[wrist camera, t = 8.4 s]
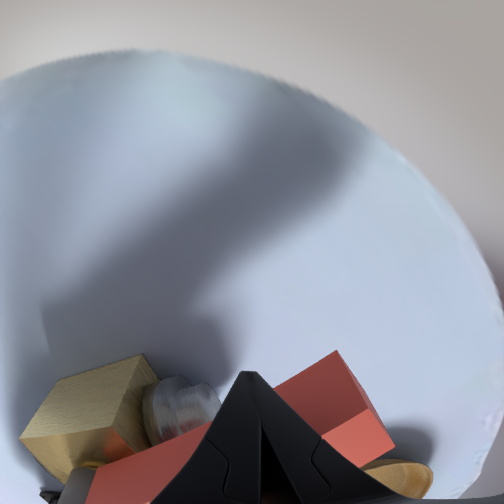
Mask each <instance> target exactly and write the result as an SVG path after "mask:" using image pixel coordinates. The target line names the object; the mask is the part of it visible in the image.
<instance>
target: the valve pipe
mask: <svg viewBox="0 0 504 504" xmlns="http://www.w3.org/2000/svg"><path fill="white" fill-rule="evenodd" d="M221 405H222V404H221V402H220V400H219V398H218V396H217V395H216V393H215V391H214V390H213V389H212V388H211V387H210V386H209V385H208V384H207V383H201V384H198V385H195V386H192V385H191V384H190V383H189V382H188V381H187V380H186V379H185V378H183V377H181V376H173V377H170V378H166V379H163V380H160V381H159V379H158V378H157V376H156V375H155V373H154V372H153V370H152V369H151V367H150V366H149V364H148V363H147V361H146V360H145V358H144V356H143V355H142V354H140V355H137V356H134V357H131V358H128V359H124V360H121V361H118V362H115V363H112V364H109V365H106V366H103V367H100V368H96V369H93V370H90V371H87V372H83V373H80V374H77V375H74V376H70V377H67V378H63V379H60V380H58V381H57V383H56V384H55V386H54V387H53V388H52V390H51V391H50V393H49V394H48V396H47V397H46V398H45V400H44V401H43V403H42V404H41V406H40V407H39V409H38V410H37V412H36V413H35V415H34V416H33V418H32V419H31V421H30V422H29V424H28V425H27V427H26V428H25V430H24V431H23V433H22V435H21V436H20V438H19V440H20V441H21V442H22V443H23V444H24V445H25V446H26V447H27V449H28V450H29V451H30V452H31V453H32V454H33V456H34V458H35V459H36V460H37V462H38V463H39V464H40V465H41V466H42V467H43V468H44V469H45V470H46V471H47V472H48V473H49V474H50V475H51V476H53V477H55V478H57V479H58V480H59V481H60V482H61V483H63V484H64V485H65V484H66V481H67V479H68V477H69V474H70V472H71V470H72V469H74V468H78V467H84V468H90V469H94V470H97V468H98V467H100V466H103V465H106V464H109V463H112V462H115V461H118V460H120V459H123V458H126V457H129V456H131V455H134V454H136V453H139V452H142V451H144V450H147V449H149V448H152V447H154V446H156V445H159V444H161V443H164V442H166V441H168V440H171V439H173V438H175V437H177V436H180V435H182V434H184V433H186V432H189V431H191V430H193V429H195V428H197V427H199V426H202V425H204V424H206V423H208V422H210V421H212V420H213V419H214V417H215V416H216V414H217V412H218V410H219V409H220V407H221Z"/></svg>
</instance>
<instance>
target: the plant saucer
mask: <svg viewBox="0 0 504 504" xmlns="http://www.w3.org/2000/svg"><path fill="white" fill-rule="evenodd" d="M360 469H362V470H363V471H365V472H366V473H367V474H369V475H370V476H372V477H373V478H375V479H376V480H378V481H379V482H381V483H382V484H384V485H386V486H387V487H389V488H390V489H392V490H393V491H395V492H397V493H399V494H401V495H404V496H406V497H410V498H415V499H422V498H423V497H424V496H425V494H426V493H427V492H428V490H429V488H430V487H431V484H432V482H433V472H432V470H431V469H430V468H429V467H428V466H426V465H424V464H421V463H417V462H413V461H408V460H401V459H375V460H372V461H371V462H369V463H367V464H365V465H363V466H362V467H360Z"/></svg>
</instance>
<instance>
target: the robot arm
mask: <svg viewBox="0 0 504 504" xmlns="http://www.w3.org/2000/svg"><path fill="white" fill-rule="evenodd" d="M39 495H40V496H41V497H42V498H43V499H44V500H45V501H47V502H48V503H49V504H57V503H58V501H59V498H60V496H61V493H55V492H40V494H39ZM149 504H504V493H503V494H500V495H496V496H491V497H483V498H471V499H470V498H469V499H415V498H410V497H406V496H404V495H401V494H399V493H397V492H395V491H393V490H392V489H390V488H389V487H387V486H386V485H384V484H382V483H381V482H379V481H378V480H376V479H375V478H373V477H372V476H370V475H369V474H367V473H366V472H365V471H363V470H362V469H360V468H359V467H357V466H356V465H355V464H353V463H352V462H351V461H349V460H348V459H347V458H345V457H344V456H343V455H342V454H341V453H339V452H338V451H337V450H336V449H335V448H334V447H332V446H331V445H330V444H329V443H328V442H327V441H326V440H325V439H322V436H320V435H319V434H318V433H317V432H316V431H315V430H314V429H313V428H312V427H311V426H310V425H309V424H308V423H307V422H306V421H305V420H304V419H303V418H302V417H301V416H300V415H299V414H298V413H297V412H296V411H295V410H294V409H293V408H292V407H291V406H290V405H289V404H288V403H287V402H286V401H285V400H284V399H283V398H282V397H281V396H280V395H279V394H278V393H277V392H276V391H275V390H274V389H273V388H272V387H271V386H270V385H269V384H268V383H267V382H266V381H265V380H264V379H263V378H262V377H261V376H260V375H259V374H258V373H257V372H256V371H241V372H240V373H239V375H238V377H237V378H236V380H235V382H234V384H233V386H232V387H231V389H230V391H229V393H228V395H227V396H226V398H225V400H224V402H223V403H222V405H221V407H220V409H219V410H218V412H217V414H216V416H215V417H214V419H213V421H212V423H211V424H210V426H209V428H208V430H207V431H206V433H205V435H204V436H203V438H202V440H201V441H200V443H199V445H198V446H197V448H196V449H195V451H194V452H193V454H192V455H191V457H190V458H189V460H188V461H187V462H186V464H185V465H184V466H183V467H182V468H181V470H180V471H179V472H178V473H177V474H176V475H175V477H174V478H173V479H172V480H171V481H170V482H169V483H168V484H167V485H166V486H165V487H164V489H163V490H162V491H161V492H160V493H159V494H158V495H157V496H156V497H155V498H154V499H153V500H152V501H151V502H150V503H149Z"/></svg>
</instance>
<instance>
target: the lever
mask: <svg viewBox="0 0 504 504" xmlns="http://www.w3.org/2000/svg"><path fill="white" fill-rule="evenodd" d="M273 389H274V390H275V391H276V392H277V393H278V394H279V395H280V396H281V397H282V398H283V399H284V400H285V401H286V402H287V403H288V404H289V405H290V406H291V407H292V408H293V409H294V410H295V411H296V412H297V413H298V414H299V415H300V416H301V417H302V418H303V419H304V420H305V421H306V422H307V423H308V424H309V425H310V426H311V427H312V428H313V429H314V430H315V431H316V432H317V433H318V434H319V435H320V436H322V439H325V440H326V441H327V442H328V443H329V444H330V445H331V446H332V447H334V448H335V449H336V450H337V451H338V452H339V453H341V454H342V455H343V456H344V457H345V458H347V459H348V460H349V461H351V462H352V463H353V464H355V465H356V466H357V467H359V468H360V467H362V466H363V465H365V464H367V463H369V462H371V461H372V460H374V459H376V458H378V457H379V456H381V455H383V454H384V453H386V452H388V451H389V450H391V449H393V448H394V447H396V446H395V445H394V443H393V441H392V439H391V437H390V435H389V434H388V432H387V430H386V428H385V426H384V425H383V423H382V421H381V419H380V417H379V416H378V414H377V412H376V410H375V409H374V407H373V405H372V403H371V401H370V400H369V398H368V396H367V394H366V393H365V391H364V389H363V388H362V386H361V385H360V384H359V382H358V381H357V379H356V378H355V376H354V375H353V373H352V372H351V370H350V369H349V367H348V366H347V364H346V363H345V362H344V360H343V359H342V357H341V356H340V354H339V353H338V351H337V350H335V351H334V352H332V353H331V354H329V355H328V356H326V357H324V358H323V359H321V360H320V361H318V362H317V363H315V364H313V365H312V366H310V367H308V368H307V369H305V370H304V371H302V372H300V373H299V374H297V375H295V376H294V377H292V378H290V379H289V380H287V381H285V382H283V383H282V384H280V385H278V386H276V387H275V388H273ZM212 421H213V420H212ZM212 421H210V422H208V423H206V424H204V425H202V426H199V427H197V428H195V429H193V430H191V431H189V432H186V433H184V434H182V435H180V436H177V437H175V438H173V439H171V440H168V441H166V442H164V443H161V444H159V445H156V446H154V447H152V448H149V449H147V450H144V451H142V452H139V453H136V454H134V455H131V456H129V457H126V458H123V459H120V460H118V461H115V462H112V463H109V464H106V465H103V466H100V467H98V468H97V470H94V469H90V468H84V467H78V468H74V469H72V470H71V472H70V474H69V477H68V479H67V481H66V484H65V486H64V489H63V491H62V493H61V496H60V498H59V501H58V503H57V504H149V503H150V502H151V501H152V500H153V499H154V498H155V497H156V496H157V495H158V494H159V493H160V492H161V491H162V490H163V489H164V487H165V486H166V485H167V484H168V483H169V482H170V481H171V480H172V479H173V478H174V477H175V475H176V474H177V473H178V472H179V471H180V470H181V468H182V467H183V466H184V465H185V464H186V462H187V461H188V460H189V458H190V457H191V455H192V454H193V452H194V451H195V449H196V448H197V446H198V445H199V443H200V441H201V440H202V438H203V436H204V435H205V433H206V431H207V430H208V428H209V426H210V424H211V423H212Z"/></svg>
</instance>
